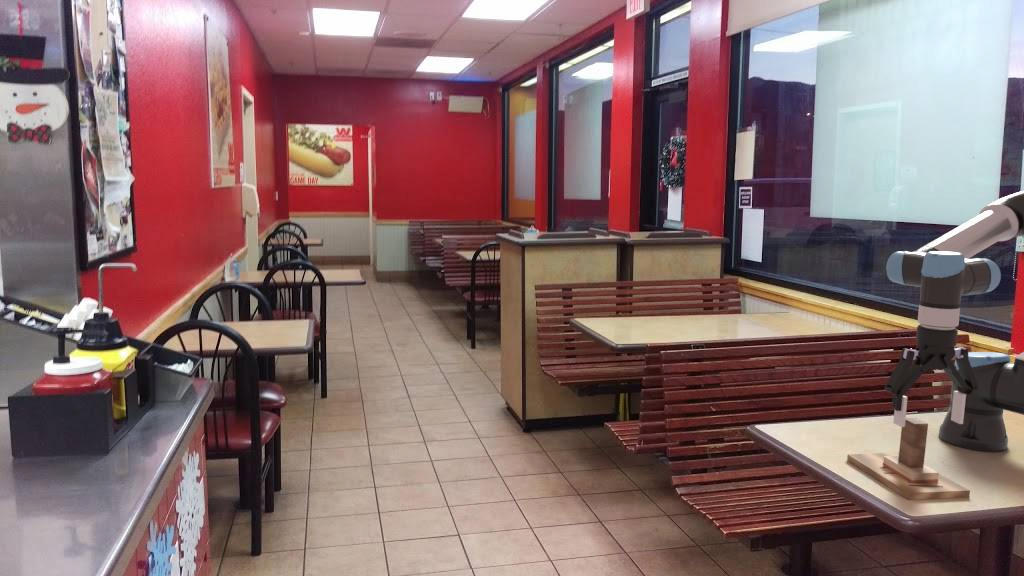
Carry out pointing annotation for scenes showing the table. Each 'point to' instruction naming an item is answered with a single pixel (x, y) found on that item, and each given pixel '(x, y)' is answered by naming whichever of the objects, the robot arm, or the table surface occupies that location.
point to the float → (912, 454)
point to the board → (902, 486)
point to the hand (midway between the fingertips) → (928, 423)
